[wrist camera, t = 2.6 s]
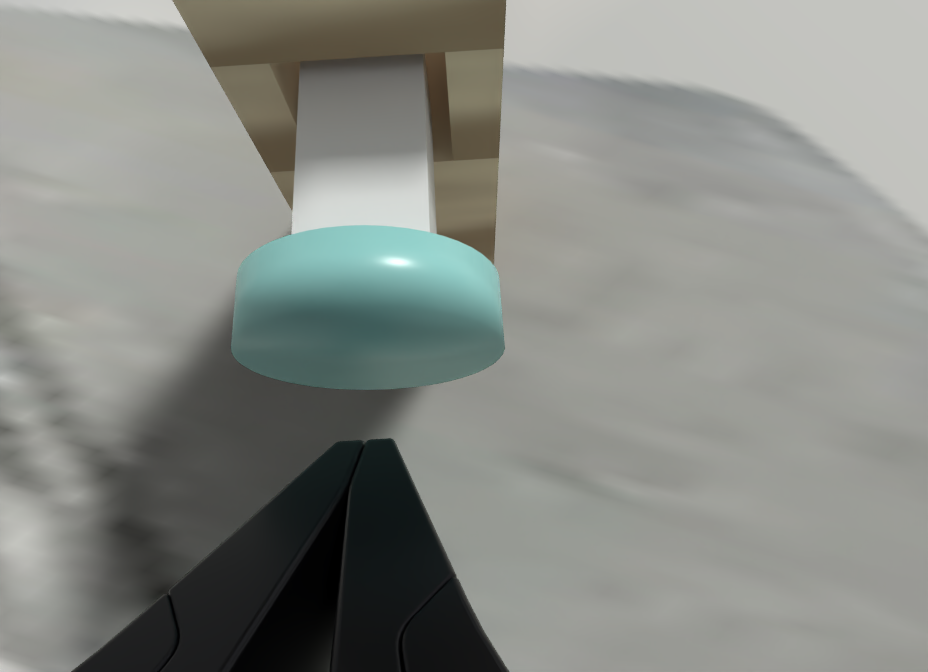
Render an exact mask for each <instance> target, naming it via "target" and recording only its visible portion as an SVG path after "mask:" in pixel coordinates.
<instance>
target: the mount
mask: <svg viewBox="0 0 928 672" xmlns="http://www.w3.org/2000/svg"><path fill="white" fill-rule="evenodd" d="M173 2H174V4H175V6H176V7H177V9H178V11H179V13H180V14H181V16H182V18H183V20H184V21H185V23H186V25H187V27H188V29H189V30H190V32H191V34H192V36H193V37H194V39H195V41H196V43H197V44H198V46H199V48H200V50H201V51H202V53H203V55H204V57H205V58H206V60H207V62H208V64H209V65H210V67H211V69H212V71H213V73H214V74H215V76H216V78H217V80H218V81H219V83H220V85H221V87H222V88H223V90H224V92H225V94H226V95H227V97H228V99H229V101H230V102H231V104H232V106H233V108H234V109H235V111H236V113H237V115H238V117H239V118H240V120H241V122H242V124H243V125H244V127H245V129H246V131H247V132H248V134H249V136H250V138H251V139H252V141H253V143H254V145H255V146H256V148H257V150H258V152H259V153H260V155H261V157H262V159H263V161H264V162H265V164H266V166H267V168H268V169H269V171H270V173H271V175H272V176H273V178H274V180H275V182H276V183H277V185H278V187H279V189H280V190H281V192H282V194H283V196H284V197H285V199H286V201H287V203H288V205H289V206H290V208H291V210H292V212H293V193H294V173H295V153H296V133H297V113H298V92H299V72H300V61H316V60H332V59H347V58H363V57H379V56H394V55H410V54H425V60H426V69H427V78H428V87H429V95H430V104H431V114H432V137H433V160H434V183H435V205H436V228H437V234H438V235H442V236H445V237H448V238H451V239H454V240H457V241H459V242H461V243H464V244H466V245H468V246H470V247H472V248H474V249H475V250H477V251H478V252H480V253H481V254H483V255H484V256H485V257H486V258H487V259H489V260H490V261H491V263H492V264H493V265H494V248H495V227H496V206H497V185H498V163H499V142H500V121H501V99H502V78H503V57H504V35H505V14H506V0H173Z"/></svg>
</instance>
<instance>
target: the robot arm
mask: <svg viewBox="0 0 928 672" xmlns="http://www.w3.org/2000/svg"><path fill="white" fill-rule="evenodd" d="M71 672H509V670H508V669H507V667H506V666H505V664H504V663H503V661H502V660H501V658H500V656H499V655H498V653H497V651H496V650H495V648H494V647H493V645H492V643H491V642H490V640H489V638H488V637H487V635H486V634H485V632H484V630H483V628H482V626H481V624H480V623H479V621H478V619H477V617H476V615H475V613H474V611H473V609H472V607H471V605H470V603H469V601H468V599H467V597H466V595H465V593H464V590H463V588H462V586H461V584H460V582H459V580H458V579H457V578H456V574H455V572H454V570H453V567H452V565H451V563H450V561H449V559H448V556H447V554H446V552H445V550H444V548H443V546H442V543H441V541H440V539H439V537H438V535H437V532H436V530H435V528H434V526H433V524H432V522H431V519H430V517H429V515H428V513H427V511H426V508H425V506H424V504H423V502H422V500H421V498H420V495H419V493H418V491H417V489H416V487H415V484H414V482H413V480H412V478H411V476H410V474H409V471H408V469H407V467H406V465H405V463H404V461H403V458H402V456H401V454H400V452H399V450H398V447H397V445H396V443H395V441H394V440H393V439H390V438H389V439H373V440H368V441H366V443H365V442H364V441H362V440H356V441H340V442H337V443H335V444H334V445H333V446H332V447H331V448H329V449H328V450H327V451H326V452H325V453H324V454H323V455H322V456H320V457H319V458H318V459H317V460H316V461H315V462H314V463H312V464H311V465H310V466H309V467H308V468H307V469H306V470H304V471H303V472H302V473H301V474H300V475H299V476H298V477H297V478H295V479H294V480H293V481H292V482H291V483H290V484H289V485H287V486H286V487H285V488H284V489H283V490H282V491H281V492H279V493H278V494H277V495H276V496H275V497H274V498H273V499H272V500H270V501H269V502H268V503H267V504H266V505H265V506H264V507H262V508H261V509H260V510H259V511H258V512H257V513H256V514H255V515H253V516H252V517H251V518H250V519H249V520H248V521H247V522H245V523H244V524H243V525H242V526H241V527H240V528H239V529H237V530H236V531H235V532H234V533H233V534H232V535H231V536H230V537H228V538H227V539H226V540H225V541H224V542H223V543H222V544H220V545H219V546H218V547H217V548H216V549H215V550H214V551H212V552H211V553H210V554H209V555H208V556H207V557H206V558H205V559H203V560H202V561H201V562H200V563H199V564H198V565H197V566H195V567H194V568H193V569H192V570H191V571H190V572H189V573H187V574H186V575H185V576H184V577H183V578H182V579H181V580H180V581H178V582H177V583H176V584H175V585H174V586H173V587H172V588H170V590H169V595H168V594H164V595H162V596H161V597H160V598H159V599H158V600H157V601H155V602H154V603H153V604H152V605H151V606H150V607H149V608H147V609H146V610H145V611H144V612H143V613H142V614H141V615H139V616H138V617H137V618H136V619H135V620H134V621H132V622H131V623H130V624H129V625H128V626H126V627H125V628H124V629H123V630H122V631H121V632H119V633H118V634H117V635H116V636H115V637H113V638H112V639H111V640H110V641H109V642H108V643H106V644H105V645H104V646H103V647H102V648H100V649H99V650H98V651H97V652H96V653H94V654H93V655H92V656H90V657H89V658H88V659H87V660H85V661H84V662H83V663H82V664H80V665H79V666H78V667H77V668H75V669H74V670H73V671H71Z"/></svg>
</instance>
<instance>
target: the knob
mask: <svg viewBox="0 0 928 672" xmlns="http://www.w3.org/2000/svg"><path fill="white" fill-rule="evenodd" d="M504 349H505V345H504V333H503V320H502V308H501V296H500V284H499V275H498V272H497V270H496V268H495V267H494V265H493V264H492V263H491V261H490V260H489V259H487V258H486V257H485V256H484V255H483V254H481V253H480V252H478V251H477V250H475V249H474V248H472V247H470V246H468V245H466V244H464V243H461V242H459V241H457V240H454V239H451V238H448V237H445V236H442V235H438V234H437V228H436V205H435V183H434V160H433V137H432V114H431V104H430V95H429V87H428V78H427V69H426V60H425V54H410V55H394V56H379V57H363V58H347V59H332V60H316V61H300V72H299V92H298V113H297V133H296V153H295V173H294V193H293V213H292V233H291V235H288V236H285V237H282V238H279V239H277V240H274V241H271V242H269V243H267V244H265V245H263V246H261V247H260V248H258V249H257V250H255V251H254V252H252V253H251V254H250V255H249V256H248V257H247V258H246V259H245V260H244V261H243V262H242V264H241V266H240V267H239V269H238V273H237V280H236V292H235V304H234V316H233V328H232V341H231V351H232V354H233V356H234V358H235V359H236V360H237V361H238V362H239V363H240V364H241V365H243V366H245V367H246V368H248V369H250V370H252V371H254V372H256V373H258V374H261V375H264V376H267V377H270V378H273V379H277V380H280V381H285V382H289V383H294V384H300V385H305V386H313V387H321V388H332V389H348V390H382V389H399V388H410V387H419V386H426V385H433V384H438V383H443V382H448V381H452V380H456V379H459V378H463V377H466V376H469V375H472V374H474V373H477V372H479V371H481V370H484V369H486V368H487V367H489V366H491V365H492V364H494V363H495V362H496V361H497V360H499V359H500V357H501V356H502V355H503V352H504Z"/></svg>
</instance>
